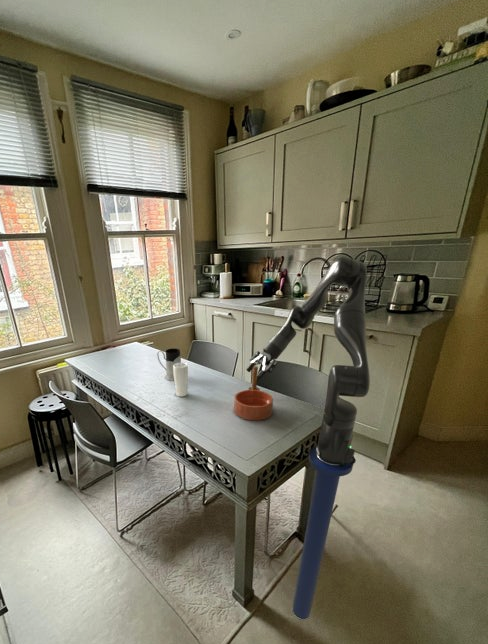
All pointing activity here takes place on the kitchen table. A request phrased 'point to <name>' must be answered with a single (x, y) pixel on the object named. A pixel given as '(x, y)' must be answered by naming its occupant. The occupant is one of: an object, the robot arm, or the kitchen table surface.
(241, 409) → the bowl
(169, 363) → the pitcher
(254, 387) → the wooden knob stand
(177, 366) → the drinking glass
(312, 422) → the kitchen table surface
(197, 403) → the kitchen table surface
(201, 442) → the kitchen table surface
